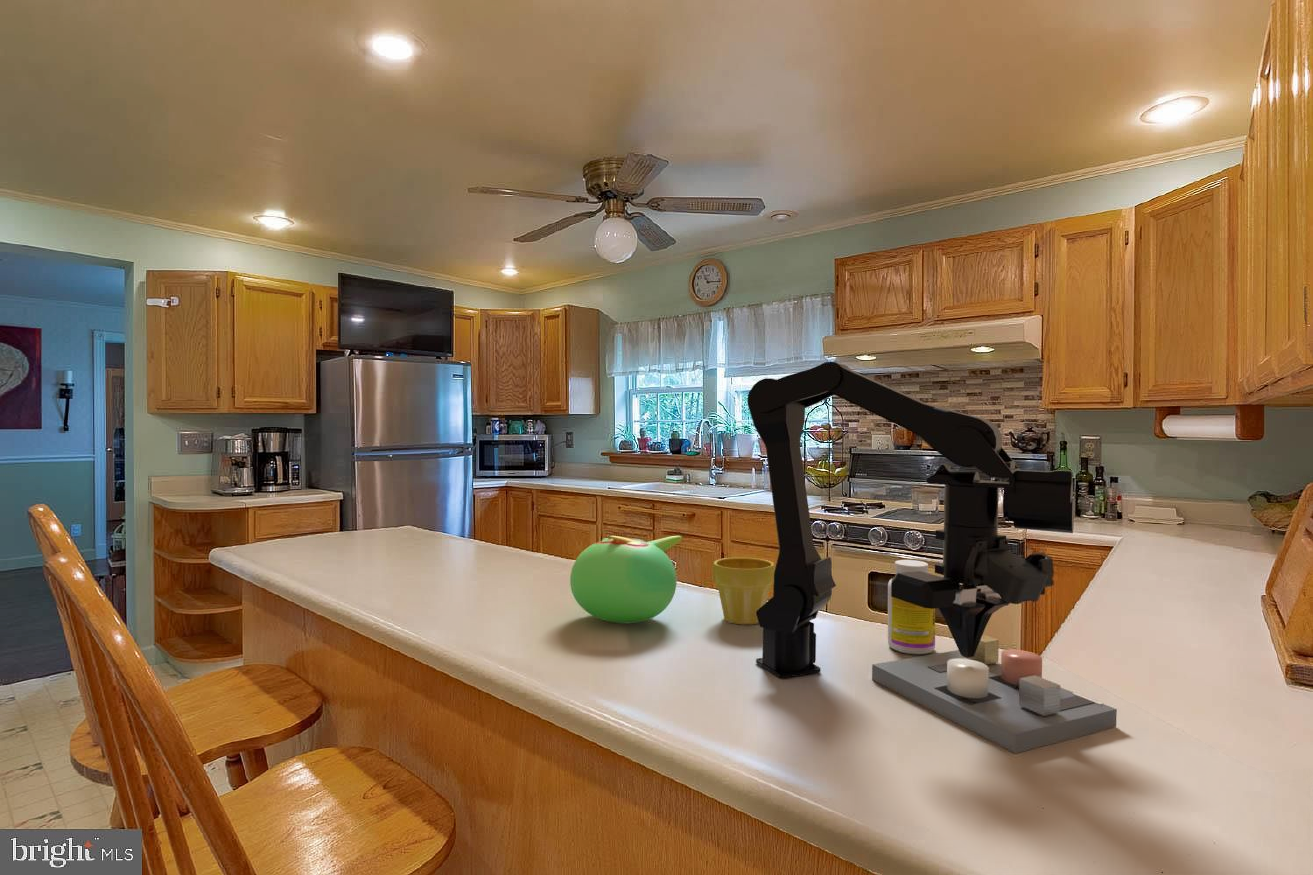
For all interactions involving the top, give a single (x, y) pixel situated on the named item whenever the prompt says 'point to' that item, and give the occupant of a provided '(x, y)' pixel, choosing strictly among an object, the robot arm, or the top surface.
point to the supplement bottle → (910, 618)
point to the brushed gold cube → (987, 650)
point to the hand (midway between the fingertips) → (967, 656)
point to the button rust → (1019, 665)
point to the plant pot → (743, 587)
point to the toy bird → (625, 578)
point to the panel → (993, 704)
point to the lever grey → (1039, 695)
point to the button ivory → (967, 678)
